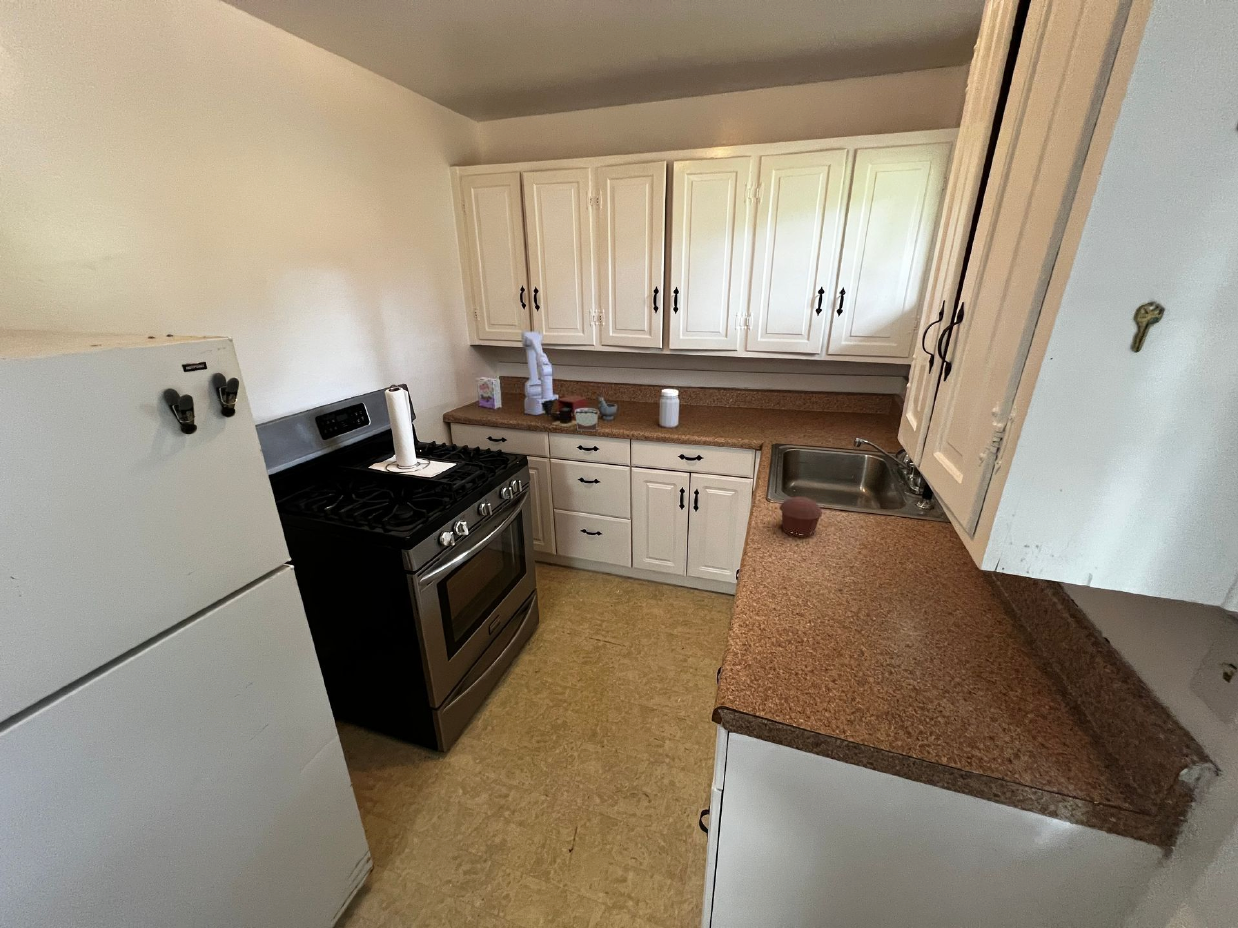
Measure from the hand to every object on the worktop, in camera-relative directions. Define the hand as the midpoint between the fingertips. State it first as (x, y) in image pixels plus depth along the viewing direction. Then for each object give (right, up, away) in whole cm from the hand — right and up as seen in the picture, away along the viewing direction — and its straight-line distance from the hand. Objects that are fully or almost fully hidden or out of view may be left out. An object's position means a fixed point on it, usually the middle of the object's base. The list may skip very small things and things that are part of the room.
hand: (548, 415), depth 246 cm
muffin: (+89, -45, -104) cm, 145 cm away
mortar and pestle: (+30, -1, +10) cm, 32 cm away
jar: (+62, -6, -2) cm, 62 cm away
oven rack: (+6, 0, +10) cm, 12 cm away
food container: (+21, -8, -8) cm, 24 cm away
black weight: (+9, -4, 0) cm, 10 cm away
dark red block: (+11, +2, +17) cm, 21 cm away
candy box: (-39, +8, +33) cm, 52 cm away
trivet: (+9, -4, +1) cm, 10 cm away
